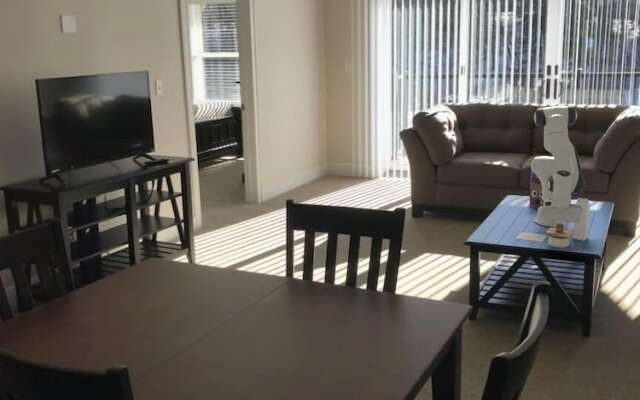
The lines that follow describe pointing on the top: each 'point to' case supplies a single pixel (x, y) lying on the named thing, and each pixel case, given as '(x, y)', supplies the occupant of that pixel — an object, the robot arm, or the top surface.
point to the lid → (559, 232)
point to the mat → (531, 236)
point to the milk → (582, 221)
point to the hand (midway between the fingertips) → (559, 228)
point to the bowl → (559, 241)
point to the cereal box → (535, 191)
